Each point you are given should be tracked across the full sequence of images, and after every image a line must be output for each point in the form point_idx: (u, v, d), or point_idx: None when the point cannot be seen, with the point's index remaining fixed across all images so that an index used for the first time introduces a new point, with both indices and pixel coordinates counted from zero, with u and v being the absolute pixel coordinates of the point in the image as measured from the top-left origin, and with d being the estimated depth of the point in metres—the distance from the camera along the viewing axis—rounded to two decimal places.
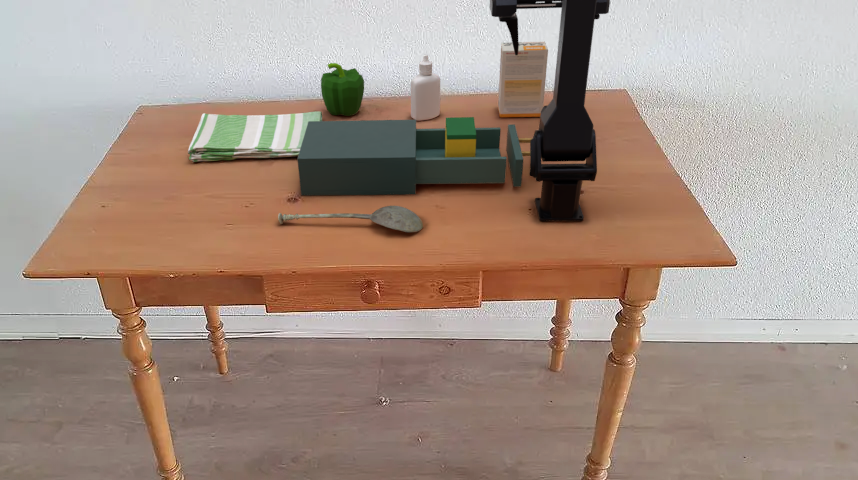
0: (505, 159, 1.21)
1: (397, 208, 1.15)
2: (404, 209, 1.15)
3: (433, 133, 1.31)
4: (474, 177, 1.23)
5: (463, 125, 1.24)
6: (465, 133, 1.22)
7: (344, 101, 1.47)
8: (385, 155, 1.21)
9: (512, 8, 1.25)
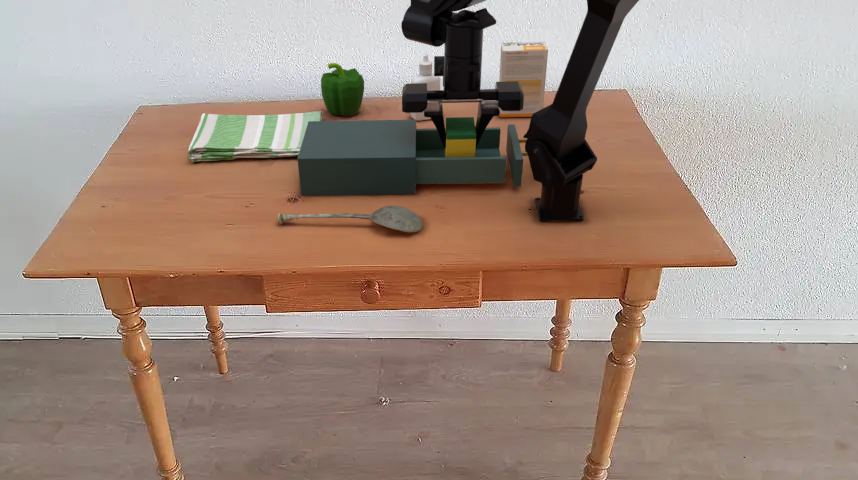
0: (505, 159, 1.21)
1: (397, 208, 1.15)
2: (404, 209, 1.15)
3: (433, 133, 1.31)
4: (474, 177, 1.23)
5: (463, 125, 1.24)
6: (465, 133, 1.22)
7: (344, 101, 1.47)
8: (385, 155, 1.21)
9: (422, 104, 1.19)
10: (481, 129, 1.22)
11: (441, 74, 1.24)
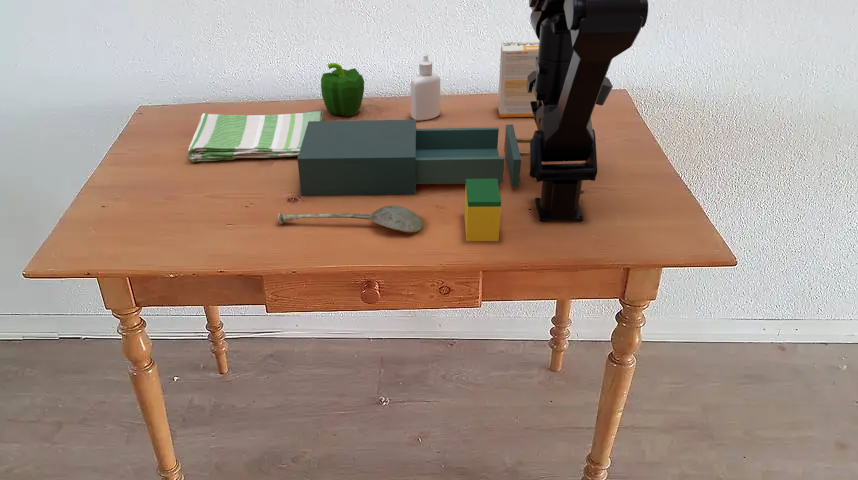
0: (503, 159, 1.21)
1: (397, 208, 1.15)
2: (404, 209, 1.15)
3: (431, 133, 1.31)
4: (472, 177, 1.23)
5: (486, 189, 1.10)
6: (489, 200, 1.08)
7: (344, 101, 1.47)
8: (385, 155, 1.21)
9: (528, 85, 1.26)
10: None
11: None
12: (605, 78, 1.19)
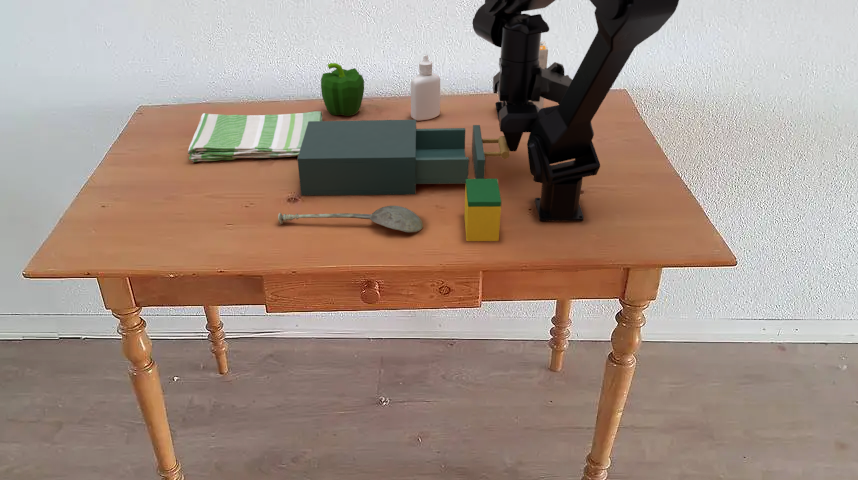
0: (467, 159, 1.21)
1: (397, 208, 1.15)
2: (404, 209, 1.15)
3: None
4: (437, 177, 1.23)
5: (486, 189, 1.10)
6: (489, 200, 1.08)
7: (344, 101, 1.47)
8: (385, 155, 1.21)
9: (494, 86, 1.26)
10: None
11: None
12: (568, 79, 1.20)
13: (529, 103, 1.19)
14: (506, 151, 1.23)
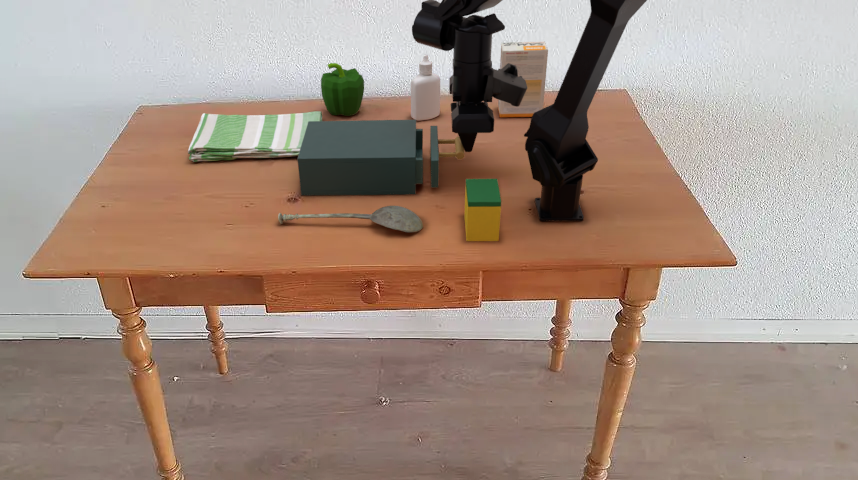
0: (421, 160, 1.22)
1: (397, 208, 1.15)
2: (404, 209, 1.15)
3: None
4: None
5: (486, 189, 1.10)
6: (489, 200, 1.08)
7: (344, 101, 1.47)
8: (385, 155, 1.21)
9: None
10: None
11: None
12: (521, 79, 1.20)
13: (482, 104, 1.20)
14: (461, 152, 1.24)
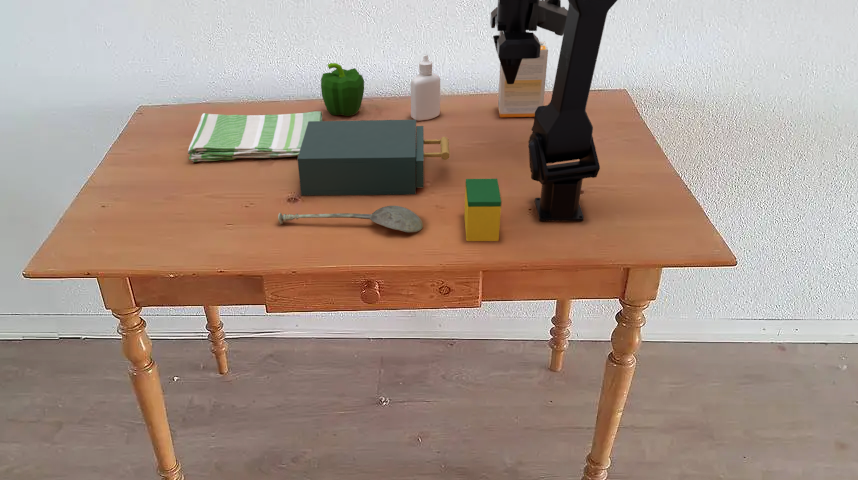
0: None
1: (397, 208, 1.15)
2: (404, 209, 1.15)
3: None
4: None
5: (486, 189, 1.10)
6: (489, 200, 1.08)
7: (344, 101, 1.47)
8: (385, 155, 1.21)
9: (491, 20, 1.29)
10: None
11: None
12: (564, 10, 1.22)
13: None
14: (446, 152, 1.24)
